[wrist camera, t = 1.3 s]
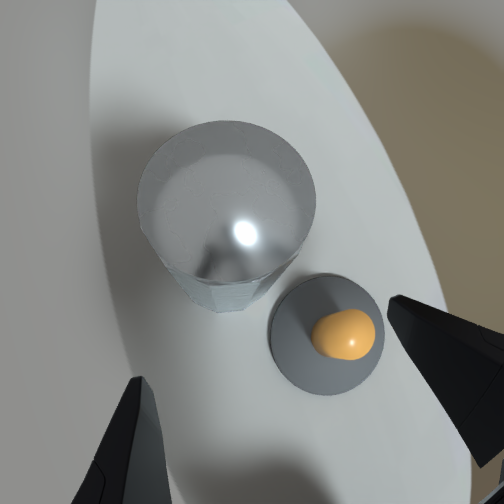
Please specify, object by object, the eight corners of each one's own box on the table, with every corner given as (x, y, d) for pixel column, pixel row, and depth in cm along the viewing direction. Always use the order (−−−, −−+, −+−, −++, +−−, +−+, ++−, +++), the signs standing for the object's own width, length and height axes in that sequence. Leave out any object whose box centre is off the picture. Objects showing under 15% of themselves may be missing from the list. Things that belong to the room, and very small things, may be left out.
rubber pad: (400, 341, 23) (403, 341, 22) (317, 417, 21) (319, 418, 20) (336, 255, 24) (338, 253, 24) (245, 325, 22) (245, 325, 22)
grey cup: (290, 274, 24) (350, 212, 12) (214, 331, 22) (202, 321, 10) (235, 204, 25) (245, 98, 13) (161, 254, 23) (108, 175, 12)
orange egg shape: (359, 338, 22) (383, 337, 18) (327, 366, 21) (348, 370, 18) (334, 306, 23) (355, 298, 19) (302, 333, 22) (318, 331, 18)
